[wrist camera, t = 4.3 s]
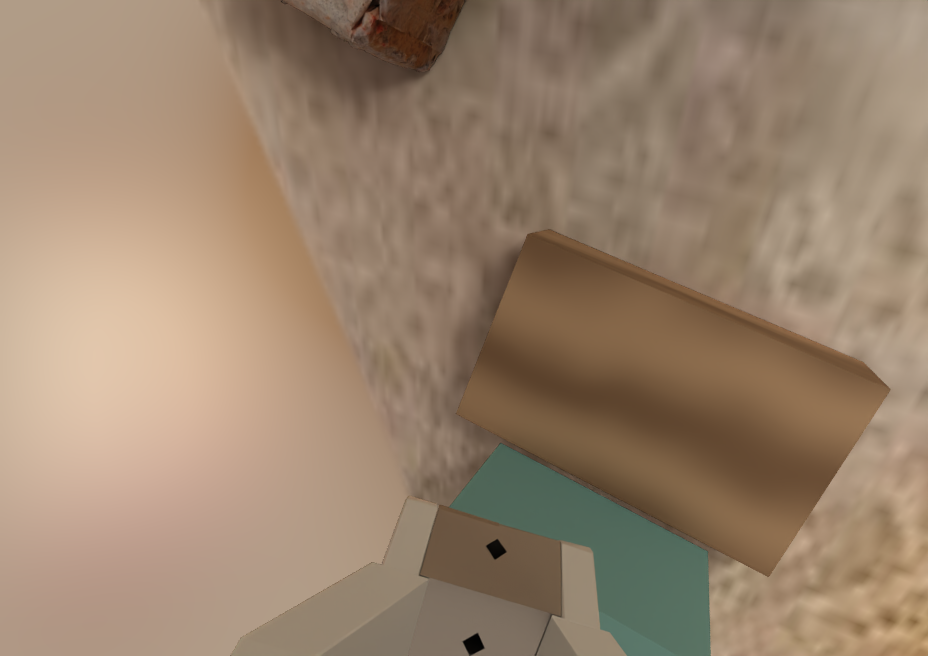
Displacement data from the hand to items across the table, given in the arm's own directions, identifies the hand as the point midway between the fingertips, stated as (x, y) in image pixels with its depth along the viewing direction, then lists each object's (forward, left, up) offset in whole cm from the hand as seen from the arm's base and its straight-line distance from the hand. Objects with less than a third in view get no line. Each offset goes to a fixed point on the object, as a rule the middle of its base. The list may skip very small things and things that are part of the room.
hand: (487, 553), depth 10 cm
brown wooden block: (-1, +5, -28) cm, 28 cm away
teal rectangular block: (+2, +11, -23) cm, 26 cm away
